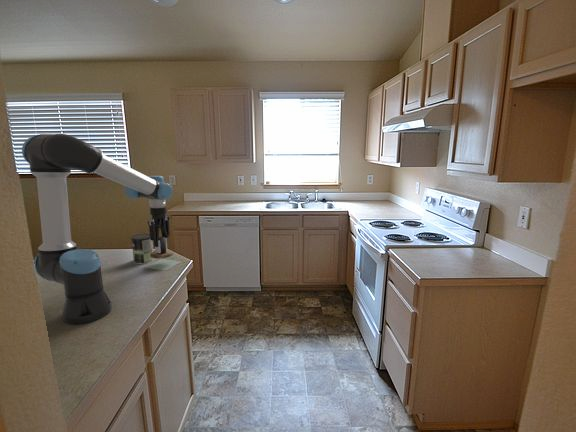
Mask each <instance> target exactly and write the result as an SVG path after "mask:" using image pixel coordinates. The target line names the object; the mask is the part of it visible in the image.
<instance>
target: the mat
mask: <svg viewBox="0 0 576 432" xmlns="http://www.w3.org/2000/svg"><path fill="white" fill-rule="evenodd" d="M181 262H182V260H181V261H179V260H172V259H166V258H159V259H158V260H157V261H154V262H151V264H148V265H146V266H144V269H151V270H152V269H154V270H161V271H167V270H169V269H171V268H172V267H175V266H176V265H178V264H180V263H181Z"/></svg>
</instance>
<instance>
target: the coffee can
mask: <svg viewBox="0 0 576 432" xmlns="http://www.w3.org/2000/svg"><path fill="white" fill-rule="evenodd" d="M130 239H131V249H132V256H133V263H134V264H139V265H142V264H149V263H153V261H154V260H155V258H151V257H150V253H151V252H153V251H154V241H153V240H150V233H139V234H133V235H132V236H131V237H130Z"/></svg>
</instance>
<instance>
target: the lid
mask: <svg viewBox="0 0 576 432" xmlns="http://www.w3.org/2000/svg"><path fill="white" fill-rule="evenodd" d="M159 240H160V249H161V253H155V250H153V252H151V253H150V257H151V258H154V259H155V260H156V259H158V260H160V259H166V258H169V257H172V256H173V255H174V251H173V250H171V249H167V250H166V244H165V237H162V236H159Z"/></svg>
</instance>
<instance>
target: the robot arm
mask: <svg viewBox="0 0 576 432" xmlns="http://www.w3.org/2000/svg"><path fill="white" fill-rule="evenodd" d="M21 154H22V157H23V159H24V161H26V162H27V163H28V164H29V172H30V173H31V174H32V176H34V177H35V178H36V186H37V195H38V197H37V198H38V204H39V206H38V207H39V215H40V225H41V235H42V237H41V238H42V243H41V244H40V245H39V247H37V252H38V253H37V255H36V256H35V257H34V260H33V265H34V264H35V269H36V271H35V273H36V274H37V276H39V277H41V278H42V279H44V280H46V281H50V282H54V283H57V284H60V285H63V288H64V295H65V301H64V302H65V303H64V306H63V311H62V319H63V322H64V323H66V324H70V325H83V324H87V323H92V322H95V321H97V320H99V319H102V318H104V317H105V316H107V315H108V314H109V313H110V312H111V311H112V308H113V307H112V301H111V300H110V299H109V297H108V295H107V294H106V292H105V290H104V289H105V288H104V284H103V283H104V282H103V275H102V268H101V267H102V266H101V263H102V262H101V259H100V255H99V254H98V253H97V252H96V251H94V250H92V249H89V248H88V249H87V248H85V249H82V248H78V247H77V245H78V244H77V243H76V242H74V241H73V240H72V235H71V234H72V233H71V232H72V231H71V221H70V209H69V197H68V183H67V177H68V176H69V175H70V174H71V173H72V171H71V169H72V170H78V171H81V172H84V173H86V174H95V175H99V176H100V177H102V178H105V179H108V180H111V181H113V182H115V183H117V184H120V185H123V186H124V193H125V195H126V197H128V198H129V199H131V200H132V199H140V198H141V199H149V202H148V203H149V207H150V208H149V212H150V213H149V214H150V215H151V220H149V221H147V224H148V228H149V231H148V232H149V234H150V240H152V242H153V248H154V251H155V253H161V249H160V240H159V237H160V234H161V237H165V244H166V250H168V238H169V237H170V234H171V233H170V216H166V214H167V207H166V206H167V202H166V200H167V201H168V200H169V199H171V198H172V196H173V192H174V191H173V187H172V185H171V184H170V183H167V182H165V179H164V176H162V175H146V174H144V173H142V172H140V171H137V170H135V169H134V168H132V167H129V166H128V165H125V164H123V163H122V162H120V161H118V160H116V159H113V158H111V157H109V156H107V155H105V154H104V153H103V151H102V150H101V149H100V148H97V147H95V145H91V144H89V143H88V142H86V141H83V140H82V139H80V138H77V137H76V136H74V135H70V134H66V133H41V134H36V135H33V136H30V137H28V138H27V139H26V140H25V141H24V142H23V145H22V147H21ZM160 232H161V233H160ZM35 269H34V270H35Z"/></svg>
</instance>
